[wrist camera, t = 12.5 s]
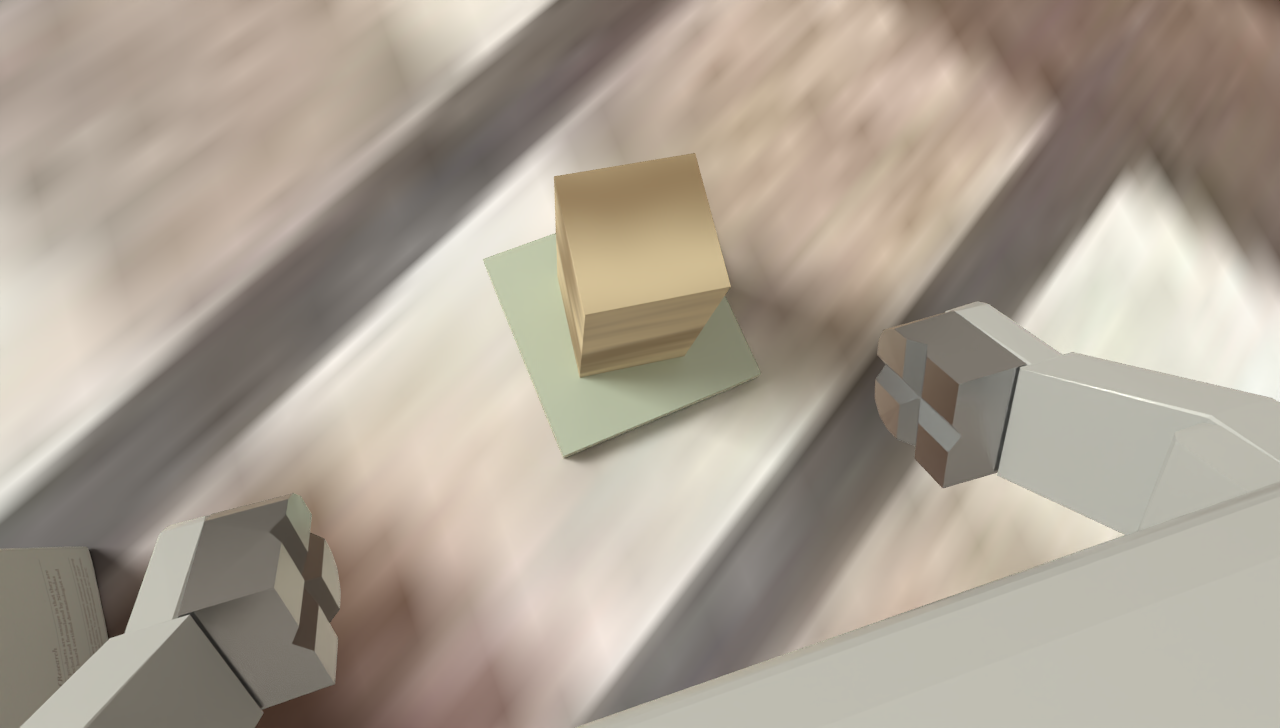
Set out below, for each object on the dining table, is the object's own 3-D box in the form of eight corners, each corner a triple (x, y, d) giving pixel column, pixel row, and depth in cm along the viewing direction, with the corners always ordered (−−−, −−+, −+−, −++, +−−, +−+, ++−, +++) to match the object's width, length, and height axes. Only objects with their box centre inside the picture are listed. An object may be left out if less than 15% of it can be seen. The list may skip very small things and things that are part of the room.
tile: (756, 378, 36) (761, 373, 35) (563, 458, 34) (563, 456, 33) (672, 199, 37) (675, 190, 36) (485, 266, 36) (483, 259, 35)
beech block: (684, 356, 34) (730, 286, 25) (579, 377, 34) (585, 315, 24) (659, 257, 35) (694, 153, 26) (557, 276, 35) (554, 176, 25)
